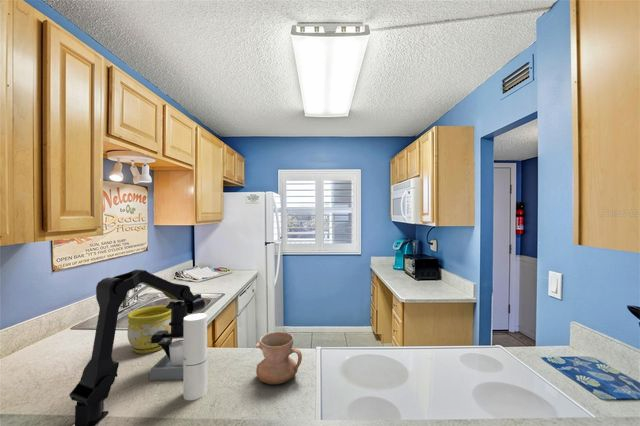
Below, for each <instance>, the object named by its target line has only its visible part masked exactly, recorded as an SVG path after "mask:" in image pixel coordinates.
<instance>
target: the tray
mask: <svg viewBox="0 0 640 426" xmlns="http://www.w3.org/2000/svg"><path fill="white" fill-rule="evenodd" d="M149 372H150V377H149V379H150V381H165V380H166V381H168V380H169V381H170V380H183V364H180V365H171V361H170V359H169V358H168V356H167V354H166V353H165V355H164V356H163V357H162V358H160V359H159V360H158V362H156V363H155V364H154V365H153V366H152V367H151V368H150V371H149Z"/></svg>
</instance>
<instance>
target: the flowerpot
mask: <svg viewBox="0 0 640 426" xmlns="http://www.w3.org/2000/svg"><path fill="white" fill-rule="evenodd" d="M166 306H167V305H151V306H147V307H146V306H145V307H143V308H141V307H140V308H138V309H134V310H132V311H131V312H128V314H127V317H126V318H127V319H128V321H127V323H128V324H127V325H128V326H127V339H128V342H129V344H130V345H131V346H132V347H131V350H132V351H134V352H135V353H137V354H150V353H154V352H157V351H159V350H162V349H163V348H162V347H161V346H160V345H158V343H151V337H152V335H154V334H155V333H156V332H158V331H163V330H168V332H169V333H171V326H169V323H170V322H171V309H167V308H166Z"/></svg>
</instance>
